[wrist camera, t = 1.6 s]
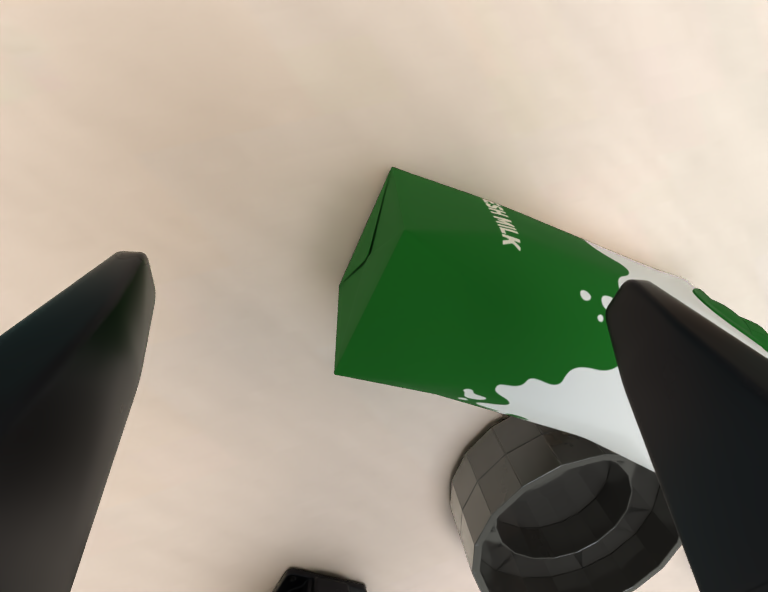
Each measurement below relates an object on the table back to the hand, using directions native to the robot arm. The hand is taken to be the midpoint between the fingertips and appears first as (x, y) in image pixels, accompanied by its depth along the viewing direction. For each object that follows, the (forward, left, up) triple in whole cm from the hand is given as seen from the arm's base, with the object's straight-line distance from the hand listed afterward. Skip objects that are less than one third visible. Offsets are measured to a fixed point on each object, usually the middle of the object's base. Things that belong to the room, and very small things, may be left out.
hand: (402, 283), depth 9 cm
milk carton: (-3, -2, -12) cm, 12 cm away
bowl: (-13, -23, -16) cm, 31 cm away
